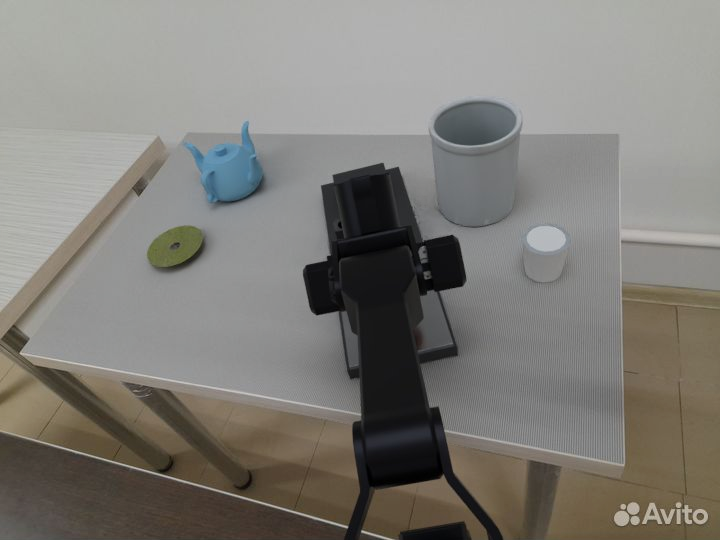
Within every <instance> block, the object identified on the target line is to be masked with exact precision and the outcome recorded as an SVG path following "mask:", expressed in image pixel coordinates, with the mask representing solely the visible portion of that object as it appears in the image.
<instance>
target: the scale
mask: <svg viewBox="0 0 720 540" xmlns="http://www.w3.org/2000/svg"><path fill="white" fill-rule="evenodd" d="M385 173H390V178H391V183H392V188H393V192H394V197H395V202H396V207H397V212H398V217H399V222H400V227H401V226H406V225H411V226H412V230H413V233H414V237H415V241H416V243H419V242H424V240H423V237H422V233H421V231H420V227H419V224H418V222H417V218H416V215H415V212H414V208H413V206H412V202H411V200H410V197H409V194H408V191H407V187H406V185H405V184H406V183H405V182H404V179H403V175H402V172H401V169H400V166H396V167H391V168H388V169H386V167H385V162H379V163H376V164H372V165H367V166H364V167H359V168H355V169H351V170H346V171H342V172H338V173H334V174H332V175H331V176H332V181H333V182H330V183H325V184H321V185H320V190H321V196H322V203H323V204H322V205H323V211H324V219H325V225H326V231H327V238H328V239H327V240H328V246H329V247H328V248H329V253H330V255H332V241H334V240H337V238H336V235H335V232H334V226H333V221H334V220H336V219H340V214H339V210H338V205H337V200H336V195H335V190H334V185H335V184H339V183H342V182H345V181H349V180H350V178H354V177H359V176H364V175H368V174H369V175H370V176H372V175H380V174H385ZM410 252H411V251H410ZM411 255H412V254H411ZM440 292H441V291H438V292H434V290H431V291H427V295H425V296H420V299H421V304H422V309H423V315H424V318H423V320H422V321H421V322H420V323H419V324H418V325H417V327H416V328H415V329H414V330H413V332H414V337H415V341H416V346H417V351H418V355H419V360H420V365H421V364H425V363H430V362H433V361H438V360H443V359H447V358H451V357H452V358H453V357H457V356H458V355H459V350H458V344H457V341H456V338H455V335H454V331H453V329H452V325H451V322H450V320H449V317H448V313H447V310H446V307H445V304H444V301H443V298H442V295H441V293H440ZM338 316H339V324H340V331H341V338H342V346H343V352H344V360H345V366H346V367H345V368H346V372H347V374H348V375H347V376H348V378H349V380H354V379H358V378H359V357H358V336H357V335H356V334H354V333H352V330H351V327H350V323H349V319H348V316H347V312H346V311H344V312H341V311H338Z"/></svg>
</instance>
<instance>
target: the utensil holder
mask: <svg viewBox="0 0 720 540" xmlns="http://www.w3.org/2000/svg"><path fill="white" fill-rule="evenodd" d="M523 122H524V121H523V113H522V111H521V109H520V108H519V106H518V105H517V104H515V103H514V102H513V101H511V100H509V99H507V98H504V97H500V96H496V95H488V94H474V95H468V96H462V97H459V98H456V99H455V98H454V99H452V100H449V101H447V102H445V103H444V104H442V105H441V106H439V107H438V108H437V109H435V111H434V112H433V113H432V114H431V116H430V118H429V120H428V133H429V137H430V139H431V151H432V162H433V173H434V181H435V182H434V183H435V190H436V196H437V197H436V198H437V203H438V204H437V205H438V208H439V211H440V213H441V214H442V216H443V217H444V218H446V219H447V220H448V221H450V222H452V223H454V224H456V225H459V226H463V227H470V228H471V227H472V228H473V227H474V228H476V227H485V226H490V225H493V224H496V223H498V222H499V221H502V220H503V219H504V218H506V217H507V216H508V215H509V214H510V213H511V211H512V210H513V208H514V205H515V198H516V189H517V188H516V187H517V179H518V165H519V152H520V140H521V131H522V128H523Z"/></svg>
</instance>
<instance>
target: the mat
mask: <svg viewBox="0 0 720 540" xmlns="http://www.w3.org/2000/svg"><path fill="white" fill-rule="evenodd" d="M203 237H204V236H203V233H202V230H201V229H199V228H198V227H196V226H194V225H181V226H180V225H179V226H175V227H173V228H170V229H168V230H165V231H164V232H162V233H161V234H159V235H158V236H156V237H155V238H154V239H153V240H152V242H151V243H150V245H149V246H148V249H147V251H146V258H147V261H148V262H149V263H150V264H151V265H153V266H155V267H159V268H167V267H173V266H176V265H179V264H182V263H184V262H186V261H187V260H188V259H190V258H191V257H192V256H194V255H195V254H196V252H197V251H198V250H199V249H200V247H201V245H202V243H203V240H204V238H203Z"/></svg>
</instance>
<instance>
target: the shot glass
mask: <svg viewBox="0 0 720 540" xmlns="http://www.w3.org/2000/svg"><path fill="white" fill-rule="evenodd" d="M521 241H522V255H523V265H524V266H523V268H524V273H525V275H526V276H527V277H528V278H529V279H530V280H532V281H534V282H537V283H540V284H544V283H551V282H554V281H556V280H558V279H559V278H560V277H561V275H562V272H563V269H564V266H565V263H566V258H567V255H568V252H569V248H570V245H571V236H570V233H569V232H568V230H567V229H566V228H564V227H563V226H560V225H558V224H556V223H551V222H540V223H535V224H533V225H530V226H529V227H527V229H525V230H524V232H523V234H522V236H521Z"/></svg>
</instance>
